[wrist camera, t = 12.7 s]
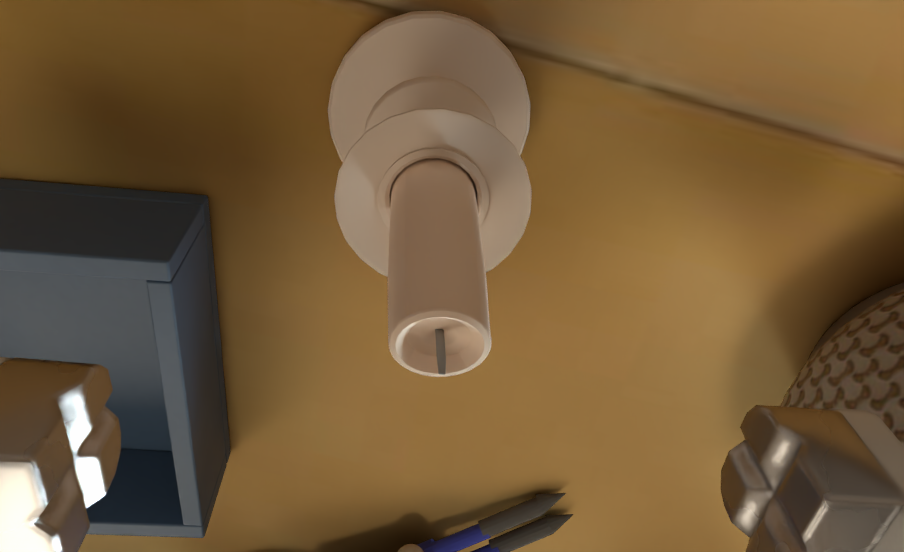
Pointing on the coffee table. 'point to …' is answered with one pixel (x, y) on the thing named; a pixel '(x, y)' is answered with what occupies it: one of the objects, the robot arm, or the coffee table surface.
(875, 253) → the coffee table surface
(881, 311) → the planter
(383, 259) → the candle
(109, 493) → the blue bin
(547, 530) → the toy
